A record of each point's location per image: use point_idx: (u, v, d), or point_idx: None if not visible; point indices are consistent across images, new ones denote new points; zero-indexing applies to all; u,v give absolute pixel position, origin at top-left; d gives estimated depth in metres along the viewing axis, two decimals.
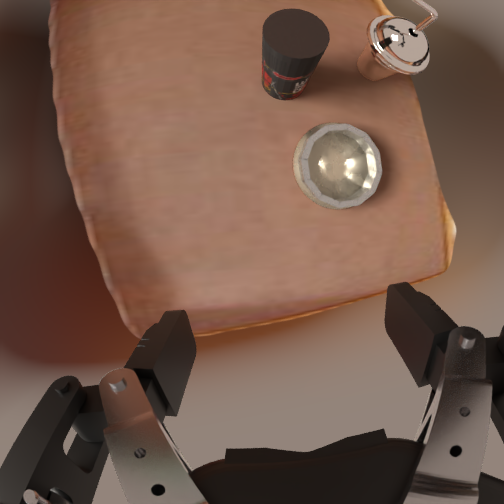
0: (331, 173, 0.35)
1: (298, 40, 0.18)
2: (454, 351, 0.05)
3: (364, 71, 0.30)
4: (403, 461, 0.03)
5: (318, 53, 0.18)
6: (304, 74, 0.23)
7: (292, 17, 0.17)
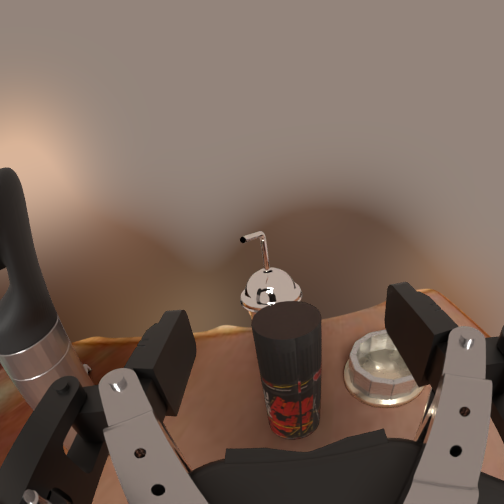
0: (396, 373, 0.30)
1: (297, 317, 0.23)
2: (454, 351, 0.05)
3: None
4: (403, 461, 0.03)
5: (312, 306, 0.24)
6: None
7: (264, 320, 0.23)
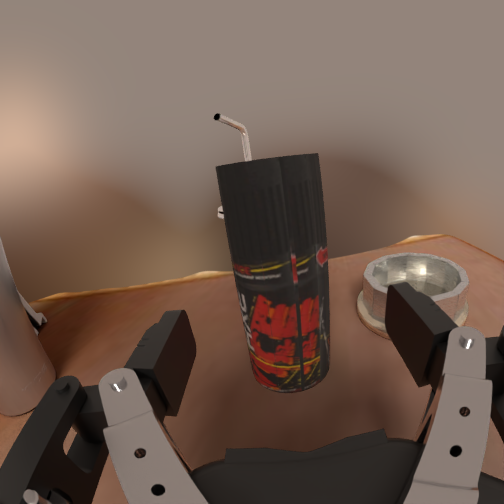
0: None
1: None
2: (454, 351, 0.05)
3: None
4: (403, 461, 0.03)
5: None
6: None
7: None
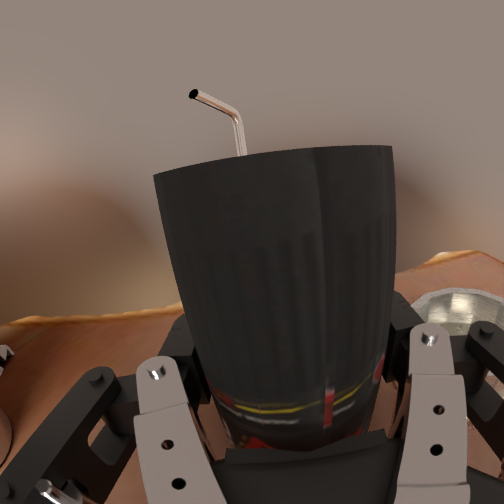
0: None
1: None
2: (417, 349, 0.06)
3: None
4: (382, 466, 0.03)
5: None
6: None
7: None
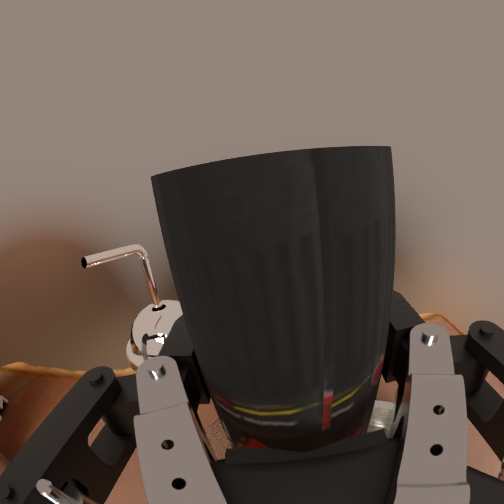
0: None
1: None
2: (417, 349, 0.06)
3: (204, 418, 0.23)
4: (382, 466, 0.03)
5: None
6: None
7: None
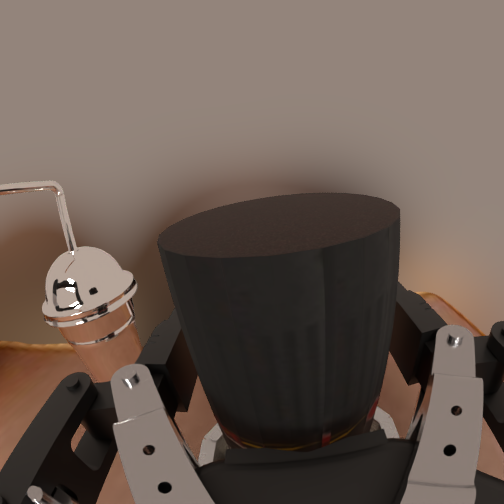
0: None
1: (315, 208, 0.07)
2: (442, 350, 0.05)
3: None
4: (396, 462, 0.03)
5: (356, 195, 0.08)
6: None
7: (206, 222, 0.07)
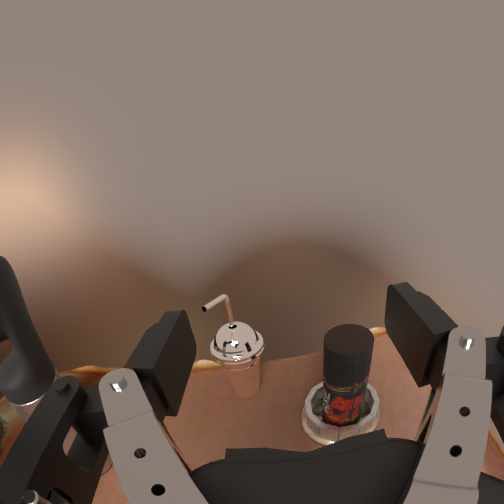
0: None
1: (356, 337, 0.29)
2: (454, 351, 0.05)
3: (252, 390, 0.41)
4: (403, 461, 0.03)
5: (365, 328, 0.30)
6: None
7: (333, 340, 0.29)
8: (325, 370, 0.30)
